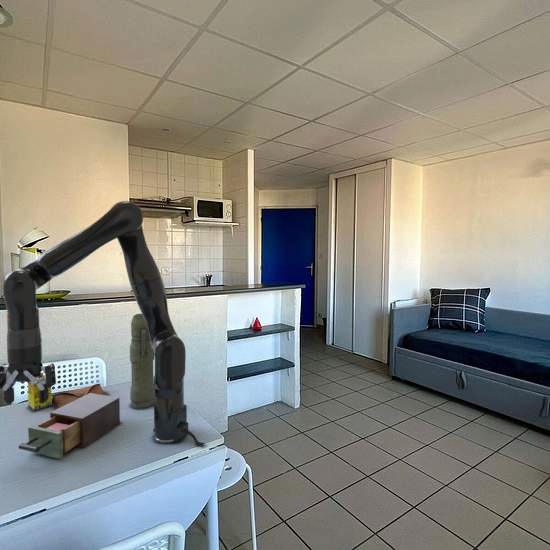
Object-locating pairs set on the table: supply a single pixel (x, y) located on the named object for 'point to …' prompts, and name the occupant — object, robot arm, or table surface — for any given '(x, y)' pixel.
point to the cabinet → (92, 415)
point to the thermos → (141, 364)
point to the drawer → (53, 437)
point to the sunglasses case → (75, 395)
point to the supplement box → (37, 397)
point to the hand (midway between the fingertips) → (26, 402)
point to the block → (58, 427)
